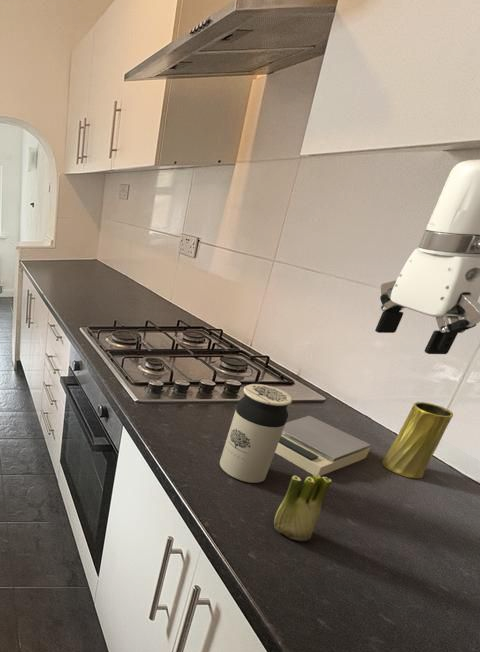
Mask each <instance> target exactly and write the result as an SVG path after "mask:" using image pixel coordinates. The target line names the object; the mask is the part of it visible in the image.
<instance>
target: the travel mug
mask: <svg viewBox="0 0 480 652" xmlns="http://www.w3.org/2000/svg"><path fill="white" fill-rule="evenodd" d="M243 393H244V394H243V395H244V396H243V397H241V398H240V399H239V400H237V401H238V402H237V404H236V408H235V411H234V415H233V417H232V420H231V424H230V426H229V431H228V434H227V437H226V440H225V443H224V446H223V449H222V450H223V451H222V453H221V455H220V460H219V466H220V468H221V469H222V470H223V471H224V472H225V473H226V474H227V475H229V476H230V477H232V478H234V479H236V480H239V481H242V482H245V483H252V484H253V483H254V484H258V483H262V482H264V481H265V480H266V478H267V476H268V472H269V469H270V467H271V464H272V462H273V458H274V456H275V454H276V453H275V451H276V448H277V445H278V442H279V440H280V437H281V434H282V432H283V429H284V426H285V424H286V423H287V421H288V418H289V412H288V406H289V405H290V404H292V402H293V398H292V397H291V395H290V394H289V393H287V392H286V391H284V390H281V389H280V388H277V387H275V386H271V385H266V384H260V383H251V384H247V385H246V386H244V387H243Z"/></svg>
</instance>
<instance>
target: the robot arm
mask: <svg viewBox="0 0 480 652" xmlns="http://www.w3.org/2000/svg"><path fill="white" fill-rule="evenodd" d="M379 298H380V299H379V300H380V303H381V305H380V311H382V312H381V315H380V317H379V319H378V322H377V325H376V327H375V332H376V333H379V334H393V333H396V332H397V329H398V327H399V326H400V323H401V322H402V321H401V320H402V319H403V316H404V312H403V310H405V309H408V310H411V311H414V312H417V313H420V314H423V315H426V316H429V317H433V318H435V321H436V324H437V326H438V330H437V329H436V330H433V332H432V334H431V336H430V338H429V340H428V342H427V344H426V346H425V349H424V353H425V354H427V355H447V354H448V353H449V352H450V350H451V348H452V345H453V344H454V342H455V340H456V338H457V336H458V335H459V334H463V333H465V332H466V331H467V330H469V329H472V328H475V327H476V326H477V324H479V323H480V303H479V302H478V301H479V299H480V159H468V160H463V161H461V162H458V163H457V164H456V165H454V166H453V167H452V168H451V170H450V172H449V173H448V177H447V178H446V181H445V183H444V186H443V188H442V191H441V193H440V195H439V197H438V200H437V202H436V205H435V207H434V208H433V211H432V213H431V216H430V219H429V221H428V223H427V225H426V228H425V230H424V233H423V235H422V237H421V239H420V242H419V244H418V247H417V248H415V249H414V250H413V251H412V253H411V254H410V256H409V257H408V259H407V260H406V262H405V264H404V265H403V267H402V268H401V270H400V273H399V275H398V277H397V278H396V280H392V281H388V282H383V283H382V284H381V285H380V296H379ZM449 319H450V321H449Z"/></svg>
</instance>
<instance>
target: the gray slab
mask: <svg viewBox="0 0 480 652" xmlns="http://www.w3.org/2000/svg"><path fill="white" fill-rule="evenodd" d="M282 434H283V435H284V436H286V437H288V438H290V439H292V440H294V441H296V442H298V443H299V444H301V445H303V446H305V447H307V448H309V449H311V450H312V451H314V452H316V453H318V454H320V455H322V456H324V457H325V458H327V459H329V460H331V461H333V462H334V461H336V460H339V459H342V458H344V457H347V456H349V455H352V454H355V453H357V452H360V451H363V450H365V449H368V448H370V449H371V444H370V443H368V442H366V441H364V440H362V439H360V438H357V437H356V436H353V435H351V434H349V433H347V432H345V431H343V430H341V429H338V428H337V427H335V426H333V425H330V424H329V423H325V422H324V421H321V420H320V419H317V418H315V417H313V416H311V415H306V416H304V417H299V418H297V419H294V420H290V421H288V422H287V421H286V424H285V426H284V429H283V432H282Z"/></svg>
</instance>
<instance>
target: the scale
mask: <svg viewBox="0 0 480 652" xmlns="http://www.w3.org/2000/svg"><path fill="white" fill-rule="evenodd" d="M370 450H371V447H370V448H368V449H365V450H363V451H360V452H357V453H355V454H352V455H349V456H347V457H344V458H342V459H339V460H336V461H334V462H333V461H331V460H329V459H327V458H325V457H324V456H322V455H320V454H318V453H316V452H314V451H312V450H311V449H309V448H307V447H305V446H303V445H301V444H299V443H298V442H296V441H294V440H292V439H290V438H288V437H286V436H284V435H283V434H281V437H280V440H279V442H278V445H277V448H276V451H275V453H274V454H276V455H278V456H280V457H281V458H283V459H285V460H287V461H288V462H290V463H291V464H294V465H295V466H297V467H299V469H302V470H304V471H306V472H307V473H309V474H311V475H312V476H313V474H316V475H319V476H321V477H323V476H324V475H327V474H329V473H332V472H334V471H337V470H339V469H342V468H345V467H346V466H350V465H352V464H355V463H357V462H360V461H362V460H364V459H366V458H367V456H368V455H369V453H370Z"/></svg>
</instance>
